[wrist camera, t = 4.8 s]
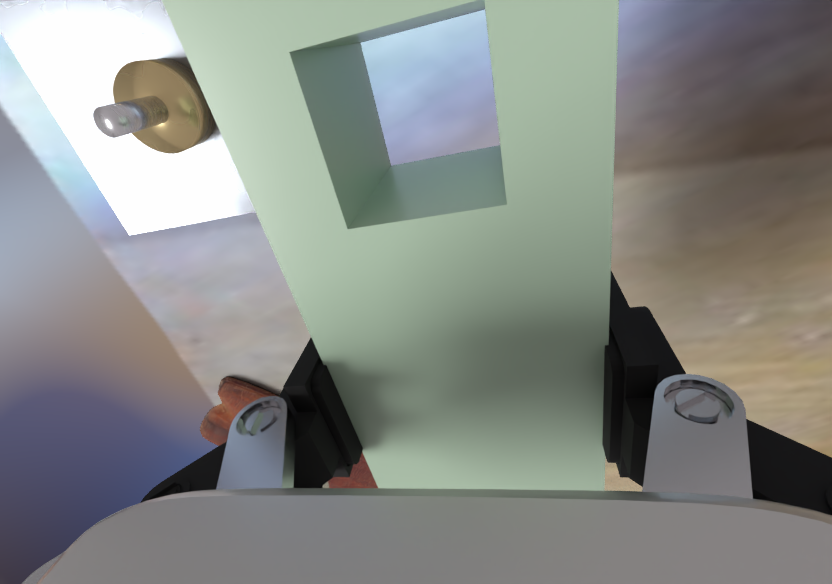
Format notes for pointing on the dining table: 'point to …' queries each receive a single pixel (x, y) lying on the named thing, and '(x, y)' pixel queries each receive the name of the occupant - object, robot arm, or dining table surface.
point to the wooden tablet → (243, 393)
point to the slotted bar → (434, 229)
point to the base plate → (128, 107)
